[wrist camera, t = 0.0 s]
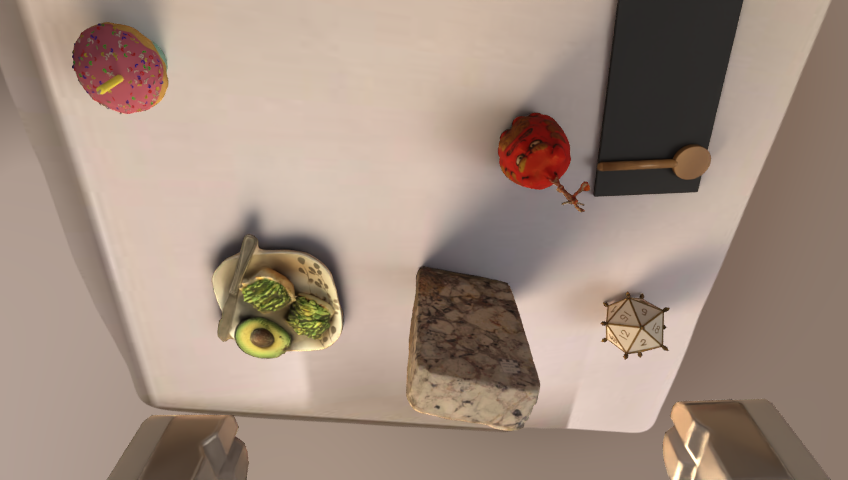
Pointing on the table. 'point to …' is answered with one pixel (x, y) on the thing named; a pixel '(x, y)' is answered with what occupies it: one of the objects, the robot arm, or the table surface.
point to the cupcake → (120, 67)
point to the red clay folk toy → (537, 154)
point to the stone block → (469, 352)
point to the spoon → (669, 163)
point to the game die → (634, 325)
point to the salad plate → (276, 301)
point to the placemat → (663, 88)
